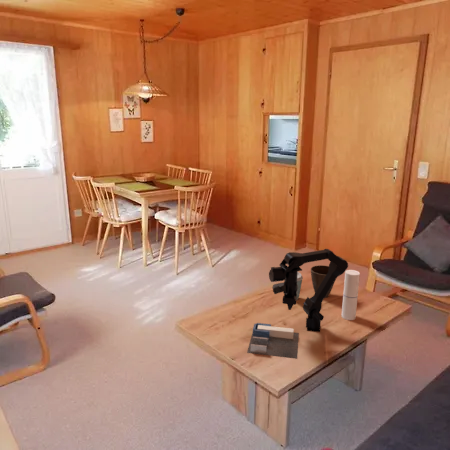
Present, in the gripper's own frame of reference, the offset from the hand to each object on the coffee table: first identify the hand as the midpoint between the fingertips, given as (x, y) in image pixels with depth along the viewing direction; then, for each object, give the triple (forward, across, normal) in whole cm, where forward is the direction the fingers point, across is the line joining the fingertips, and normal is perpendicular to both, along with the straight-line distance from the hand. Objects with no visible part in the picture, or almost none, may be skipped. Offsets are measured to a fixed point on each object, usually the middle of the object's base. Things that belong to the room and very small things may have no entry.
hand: (289, 309), depth 198 cm
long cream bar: (+11, +6, -6) cm, 14 cm away
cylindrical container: (+12, -22, +30) cm, 39 cm away
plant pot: (+12, -46, +17) cm, 51 cm away
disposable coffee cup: (+12, -38, 0) cm, 40 cm away
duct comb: (+12, +12, -6) cm, 18 cm away
